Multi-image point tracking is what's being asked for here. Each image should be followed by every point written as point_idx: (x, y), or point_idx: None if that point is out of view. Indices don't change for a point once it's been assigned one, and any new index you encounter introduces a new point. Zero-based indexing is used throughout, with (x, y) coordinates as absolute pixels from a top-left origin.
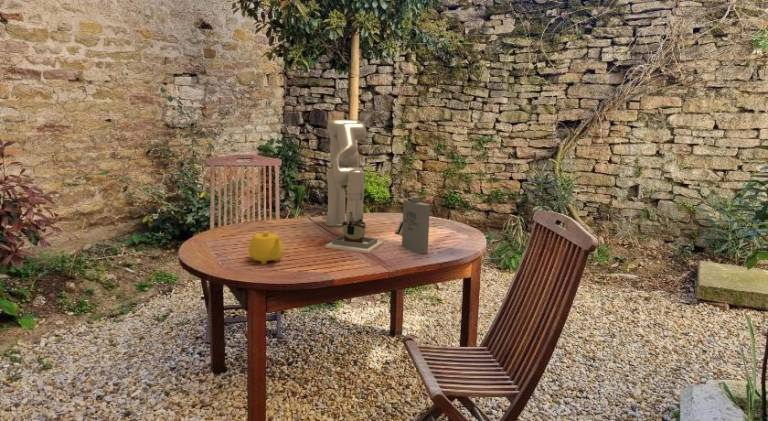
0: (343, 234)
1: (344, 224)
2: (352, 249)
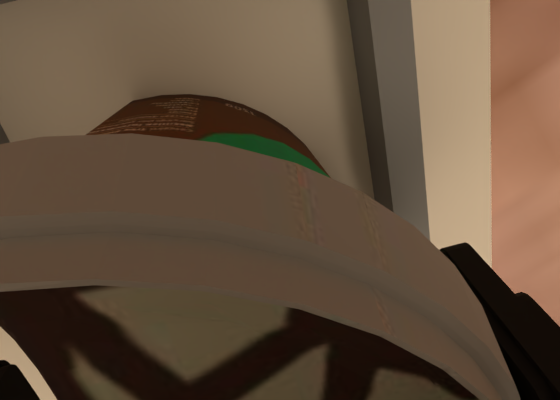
0: (91, 132)
1: (7, 305)
2: (6, 358)
